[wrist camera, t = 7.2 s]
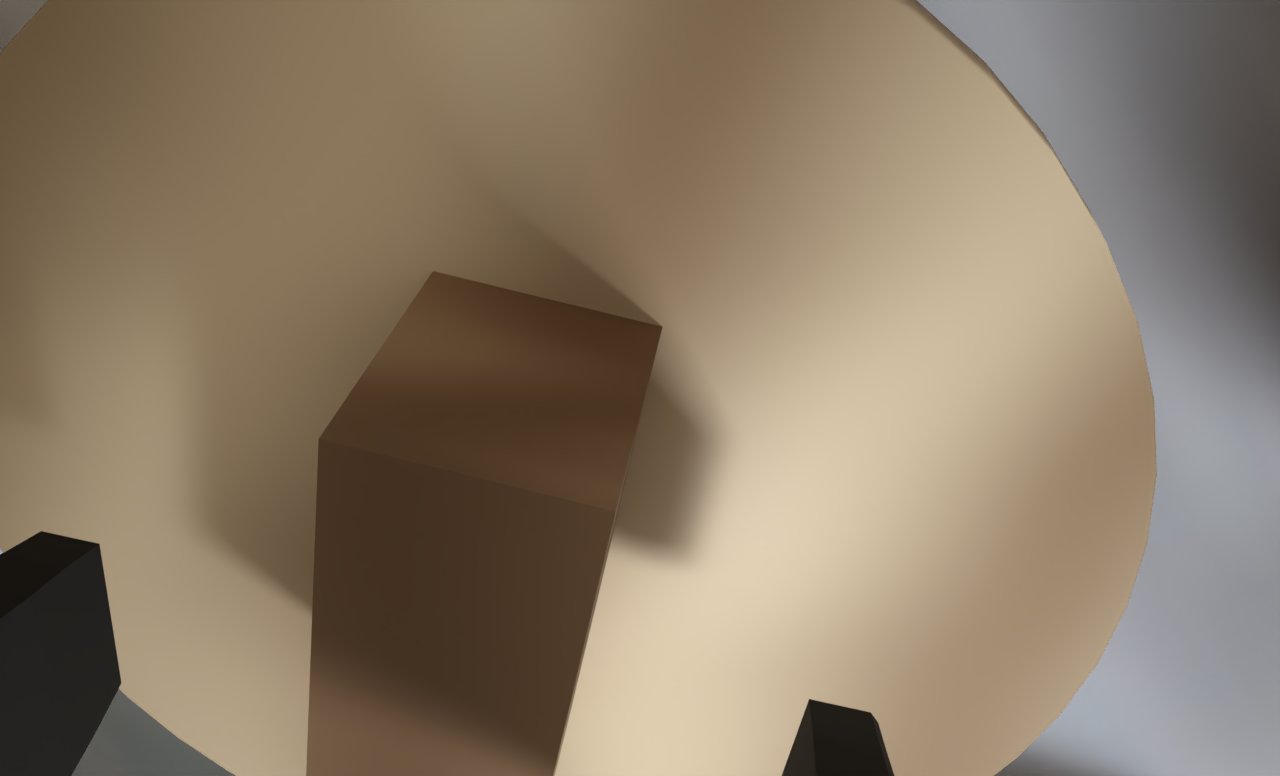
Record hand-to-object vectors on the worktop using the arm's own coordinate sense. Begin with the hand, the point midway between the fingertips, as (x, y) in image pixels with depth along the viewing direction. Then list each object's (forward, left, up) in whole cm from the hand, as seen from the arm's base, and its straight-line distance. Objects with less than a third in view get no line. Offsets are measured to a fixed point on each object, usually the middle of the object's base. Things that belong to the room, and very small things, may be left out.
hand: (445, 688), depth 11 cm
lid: (0, 0, -3) cm, 3 cm away
